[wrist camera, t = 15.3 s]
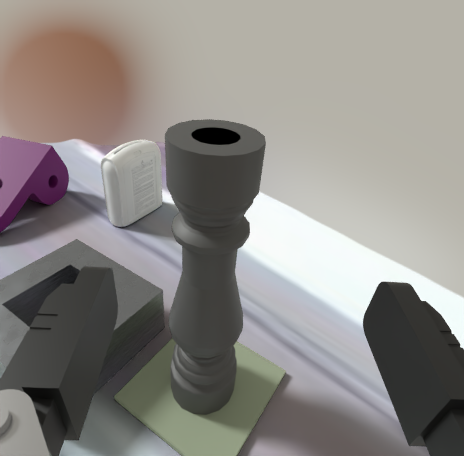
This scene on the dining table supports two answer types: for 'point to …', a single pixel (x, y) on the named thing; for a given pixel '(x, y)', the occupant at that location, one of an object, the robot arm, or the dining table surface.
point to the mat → (197, 425)
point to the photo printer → (132, 181)
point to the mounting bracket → (28, 176)
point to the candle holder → (209, 253)
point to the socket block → (65, 272)
